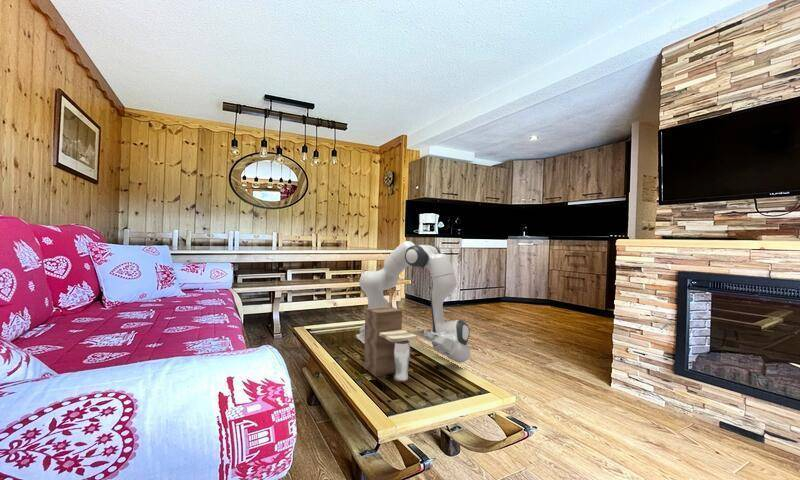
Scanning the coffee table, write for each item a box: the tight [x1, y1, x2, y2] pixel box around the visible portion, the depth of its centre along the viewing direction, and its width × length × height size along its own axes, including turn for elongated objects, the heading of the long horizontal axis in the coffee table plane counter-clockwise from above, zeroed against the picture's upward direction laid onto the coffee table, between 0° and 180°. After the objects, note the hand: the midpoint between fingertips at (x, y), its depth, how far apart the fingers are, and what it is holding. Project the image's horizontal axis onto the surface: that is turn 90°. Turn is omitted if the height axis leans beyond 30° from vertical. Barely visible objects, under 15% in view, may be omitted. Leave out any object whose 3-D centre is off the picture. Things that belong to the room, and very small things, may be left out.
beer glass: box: [393, 340, 411, 382], centre depth 138 cm, size 7×7×15 cm
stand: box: [363, 305, 403, 378], centre depth 147 cm, size 11×12×26 cm
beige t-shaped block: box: [379, 327, 432, 343], centre depth 140 cm, size 11×21×2 cm, turn 123°
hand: (420, 330), depth 143 cm, fingers closed on beige t-shaped block, 3 cm apart
